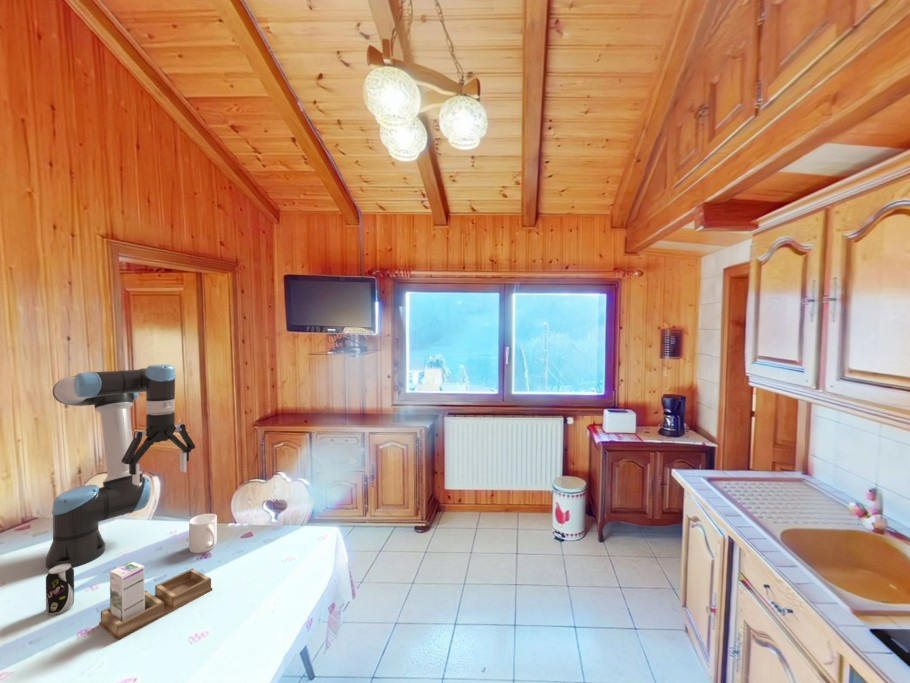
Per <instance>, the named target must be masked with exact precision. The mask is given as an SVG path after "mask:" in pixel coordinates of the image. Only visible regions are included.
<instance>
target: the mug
mask: <svg viewBox="0 0 910 683" xmlns="http://www.w3.org/2000/svg"><path fill="white" fill-rule="evenodd" d="M217 518H218V516H217V514H216V513H204V514H203V513H202V514H199V515H195V516H193V517H192V518H191V519H190V520H188V521H189V522H188V523H189V524H188V531H189V532H188V548H189V552H191V553H192V554H203V553H207V552H209V551H211V550H213V549H214V548H215V547H216V545H217V542H218V540H217V539H218V537H217V536H218V535H217V534H218V531H217V530H218V529H217V528H218V525H217V524H218V523H217V522H218V519H217Z"/></svg>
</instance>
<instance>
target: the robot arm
mask: <svg viewBox="0 0 910 683" xmlns="http://www.w3.org/2000/svg"><path fill="white" fill-rule="evenodd" d="M175 370H176V369H175V366H174V365H172V364H151V365H148V366H147V367H146V368H145V367H143V368H138V369H127V370H125V369H123V370H113V371H109V370H108V371H107V370H106V371H105V370H104V371H87V372H79V373H77V374H76V375H73V376H69V377H66V378H61V379H60V380H59V381H57V382H56V383H55V384H54V385H53V387H52V396H53V398H54V400H56V401H57V402H59V403H61V404H63V405H66V406H67V405H68V406H73V407H75V406H76V407H83V406H84V407H85V406H93V407H94V411H96V412H97V413H99V414H100V420H101V427H102V436H103V447H104V448H103V449H104V456H105V464H106V465H105V466H106V474H107V476H106V478H105V479H104V480H103V481H102V487H99V486H98V485H96V484H87V485H81V486H77V487H74V488H71V489H68V490H66V491H64V492H62V493H60V494H59V495H58V496H56V497H55V499H54V500H53V502H52V510H51V514H52V542H51V545H50V547H49V550H48V553H47V554H46V557H45V567H46V568H47V569H49V570H50V569H52V568H53V567H55V566H58V565H62V564H71V567H72V568H75V567H79V566H83V565H85V564H86V563H89V562H91V561H93V560H96V559H97V558H99V557H100V556H102V555H103V554H104V553H105V552H106V543H105V541H104V538H103V536H102V534H101V532H100V530H99V523H101V522H103V521H107V520H111V519H113V518H118V517H120V516H124V515H128V514H133V513H134V512H136V511H141V510H143V509H145V507H147V505H148V504H149V501H150V499H151V492H152V491H151V490H152V487H151V486H152V485H151V482H150V479H149V477H147V476H143V472H141V471H140V468H141V467H140V463H139V461H140V460H141V458H142V457H143V456H144V454H146V452H147V451H148V450H149V448H151V446H153V445H154V443H160V442H161V443H162V442H168V440H170V442H172V443H173V444H175V446H176V447H177V448H179V449H180V450H181V451H180V452H179V472H182V473H184V474H185V473H187V462H189V460H190V453H191V451H192V450H195V448H196V445H195V443H194V442H193V440H192V438H191V436H190V435H189V433H188V432H187V430H186V424H184V423H178V424H175V422H176V419H175V418H176V413H175V412H174V411H175V409H176V395H175V394H176V371H175ZM139 393H145V394H146V400H145V401H146V402H145V404H146V405H145V406H146V407H145V413H146V417H145V418H146V419H145V421H146V422H145V423H146V424H145V425H146V426H145V427H146V428H145V430H141V431H139V430H135V431H134V433H133V429H132V421H131V414H130V413H131V412H130V409H131V407H132V406H133V405H134V402H135V401H136V400H137V399H138V397H139ZM175 431H177V432H178V433H179V434H180V437H181V438H182V440H183V441H184V443H185V444H184V443H183V441H181V440H180V439H178V437H177V436H176V435H175V434H174V433H175ZM145 436H146V438H145V439H144V440H143V443H142V444H141V442H142V439H143V438H144V437H145ZM140 444H141V446H140Z"/></svg>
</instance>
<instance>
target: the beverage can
mask: <svg viewBox="0 0 910 683" xmlns="http://www.w3.org/2000/svg"><path fill="white" fill-rule="evenodd" d="M74 604H75V570H74V567H71V564H62V565H58V566H55V567H53V568H52V569H49V570H48V574H47V575H46V576H45V613H46V614H48V615H58V614H59V615H60V614H62V613H64V612H66V611H68V610H69V609H70V608H71V607H73V606H74Z"/></svg>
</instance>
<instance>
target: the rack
mask: <svg viewBox="0 0 910 683" xmlns="http://www.w3.org/2000/svg"><path fill="white" fill-rule="evenodd" d="M211 591H213V587H212V578H211V577H209V576H208V575H205V574H204V573H202V572H200V571H198V570H196V569H194V568H190V569H188V570H186V571H184V572H181V573H179V574H177V575H175V576H173V577H171V578H169V579H166V580H164V581H162V582H160V583H158V584H156V585H154V593H155V594H154V595H153V594H152V593H151V592H149V591H147V590H146V589H145V610H144V611H142V612H140V613H138V614H136V615H134V616H132V617H130V618H128V619H127V620H125V621H123V622H121V621H120V620H118V619H117V618H116V617H114V616H113V615H112V614H111V613H110V606H109V607H107V608H104V609H103V610H100V621H99V622H98V624H99V626H100V627H101V628H102V629H104V630H105V631H106V632H107V633H108V634H109V635H110V636H112V637H113V638H114V639H116V641H120V640H122V639H124V638H126V637H127V636H129V635H131V634H133V633H135V632H136V631H138V630H140V629H142V628H144V627H146V626H147V625H150V624H151V623H154V622H156V621H157V620H159V619H160V618H162V617H164V616H167V615H168V614H171V613H172V612H174V611H176V610H178V609H180V608H181V607H183V606H185V605H187V604H189V603H190V602H192V601H194V600H196V599H198V598H201V597H202V596H204V595H206V594H207V593H209V592H211ZM179 607H180V608H179Z"/></svg>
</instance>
